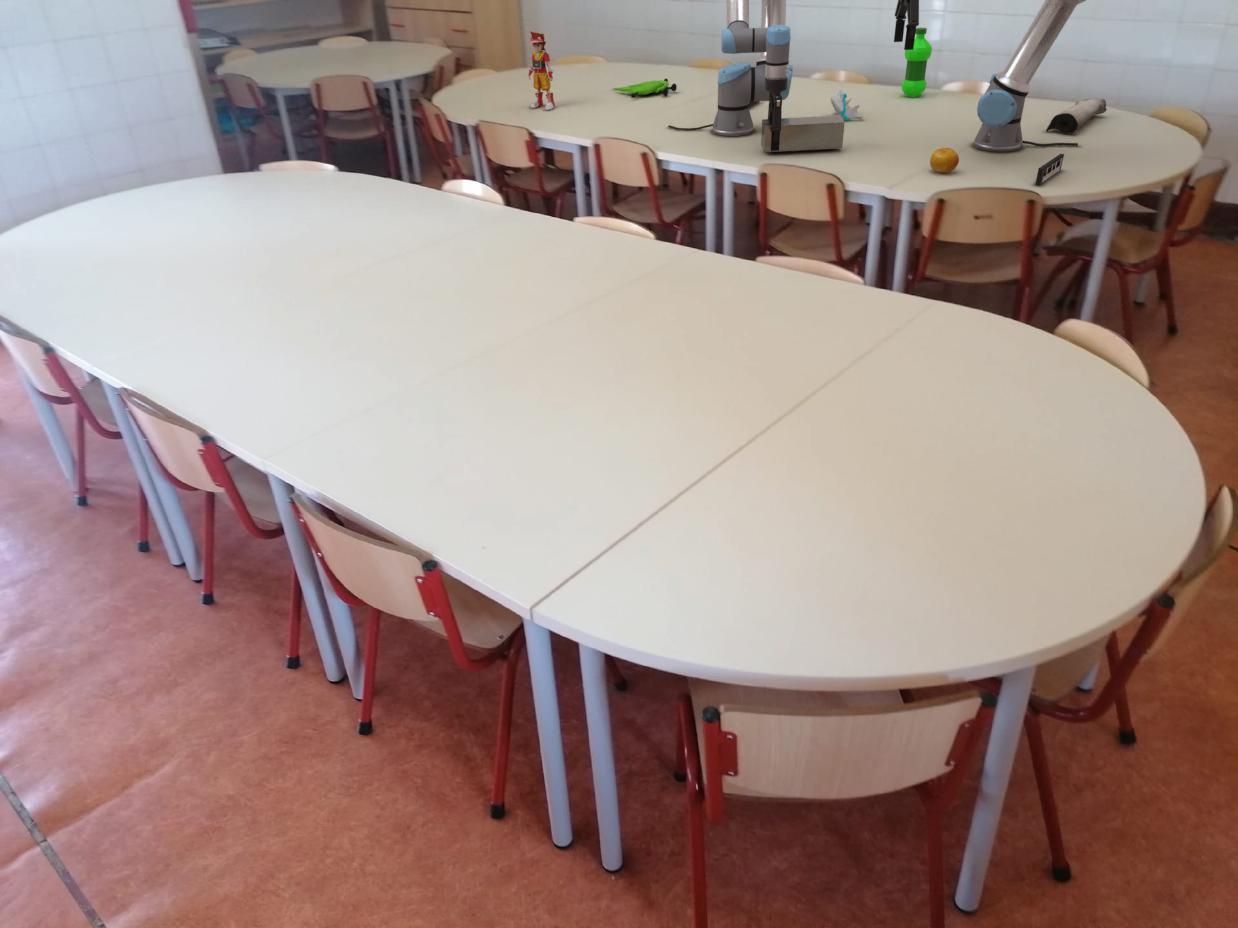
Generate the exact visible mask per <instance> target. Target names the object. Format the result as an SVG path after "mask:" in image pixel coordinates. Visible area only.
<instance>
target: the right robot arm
mask: <svg viewBox="0 0 1238 928" xmlns="http://www.w3.org/2000/svg"><path fill="white" fill-rule="evenodd" d="M1086 1H1087V0H1044V2H1043V4H1042V5H1041V7H1040V9H1039V10H1038V12H1037V14H1036V16H1035V17H1034V19H1033V21H1032V22H1031V24H1030V25H1029V27H1028V29H1027V31H1026V33H1024V35H1023V37H1022V38H1021V41H1020V43H1019V44H1018V45H1017V48H1016V49H1015V51H1014V53H1013V54H1012V56H1011V58H1010V59H1009V61H1008V62H1007V64H1006V66H1005V68H1004V69H1003V70H1002V71H1000V72H997V73H993V74H992V75H991V76H990V80H989V86H988V87H987V89H986V91H984V94H983V95H981V97H980V98H979V100H978V102H977V107H976V114H977V117H978V119H979V121H980V122H981V123H982V124H981V126H980V128H979V130H978V132H977V133H976V135H975V138H974V141H973V147H975V148H976V149H978V150H980V151H985V152H991V153H992V152H993V153H1010V152H1015V151H1019V150H1021V149H1022V147H1023V145H1024V144H1025V145H1030V146H1036V147H1051V146H1071V147H1072V146H1073V147H1074V146H1075V147H1077V146H1078V145H1079V143H1078V142H1049V143H1037V142H1033V141H1028V140H1023V133H1022V126H1021V125H1022V124H1021V122H1022V118H1023V112H1024V108H1025V102H1026V98H1027V96H1028V95H1029V93H1030V92H1031V86H1030V82H1031V81H1032V78H1033V77H1034V75H1035V74H1036V72H1037V70H1038V69H1039V67H1040V66H1041V64H1042V62H1043V61H1044V59H1045V57H1046V56H1047V55H1048V53H1049V51H1050V50H1051V48H1052V47H1053V45H1054V43H1055V41H1057V38H1058V37H1059V35H1060V33H1061V32H1062V30H1063V29H1064V27H1065V26H1066V24H1067V22H1068V21H1069V19H1070V17H1071V16H1072V14H1073V12H1074V11H1075V9H1076V8H1077V6H1078V5H1080V4H1082V3H1085V2H1086ZM896 4H897V5H896V8H895V12H894V17H895V27H894V36H893V43H903V41H904V48H903V50H904V51H905V50H913V48H914V40H915V38H916V34H915V32H916V28H918V26H919V25H920V0H897V3H896ZM906 20H907V24H906ZM905 28H906V30H905ZM904 34H905V37H904ZM904 38H905V40H904Z"/></svg>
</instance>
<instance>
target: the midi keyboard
mask: <svg viewBox="0 0 1238 928" xmlns="http://www.w3.org/2000/svg"><path fill="white" fill-rule="evenodd" d="M1064 157H1065V153H1059V154H1058V155H1056V156H1055V157H1052V159H1051V160H1049V161H1047V162H1045V164H1042V165H1041V166H1039V167H1038V169H1037V175H1036V179H1035V186H1040V185H1042V183H1044V182H1045V181H1047V180H1048V179H1049V178H1051V177H1052V176H1054V175H1055V174H1056V173H1058V172H1060V171H1061V170H1062V165H1063V161H1064Z"/></svg>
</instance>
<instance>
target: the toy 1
mask: <svg viewBox="0 0 1238 928" xmlns="http://www.w3.org/2000/svg"><path fill="white" fill-rule="evenodd" d="M529 33H530V35H531V36H528V37H527V38H528V39H529V40H528V41H527V43H529V44H530V43H531V44H532V48H533V50H534V51H533V52H532V55H531V58H530V59H531V63H530V66H528V74H527V75H528V76H527V77H528V79H529V80H531V75H532V74H533V84H532V85H533V86H532V87H533V88H534V89H535V90H536V92H534V95H535V97H536V100H535V101H533V102H531V105H530V108H531V109H535V108H538V107H542V106H544V101H543V100H544V99H543V95H544V92H546V94H545V97H546V99H547V103H546V104H545V106H544V110H546V111H549V110H553V109H554V107H555V106H556V105H555V99H554V92H551V91H550V90H551V86H552V84H551V82H552V81H553V80H554V77H553V73H554V71H555V70H554V69H552V68H551V63H550V61H551V59H550V58H551V57H550V54H549V53H548V52H547V50H546V48H545V46H546V44H547V41H545V35H544V33H543V32H542V33H539V32H535V31H529Z"/></svg>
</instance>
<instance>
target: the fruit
mask: <svg viewBox="0 0 1238 928" xmlns="http://www.w3.org/2000/svg"><path fill="white" fill-rule="evenodd" d="M959 163H960V156H959V154H958V152H957V151H956V150H955V149H953V148H951V147H942V148H938V149H936V150H934V151H933V153H932V154H931V155H930V159H929V166H930V168H931V169H932V170H933V171H934V172H936V173H939V174H940V173H943V174H944V173H945V174H946V173H951V172H953V171H954V170H956V168H957V167H958V165H959Z"/></svg>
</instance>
